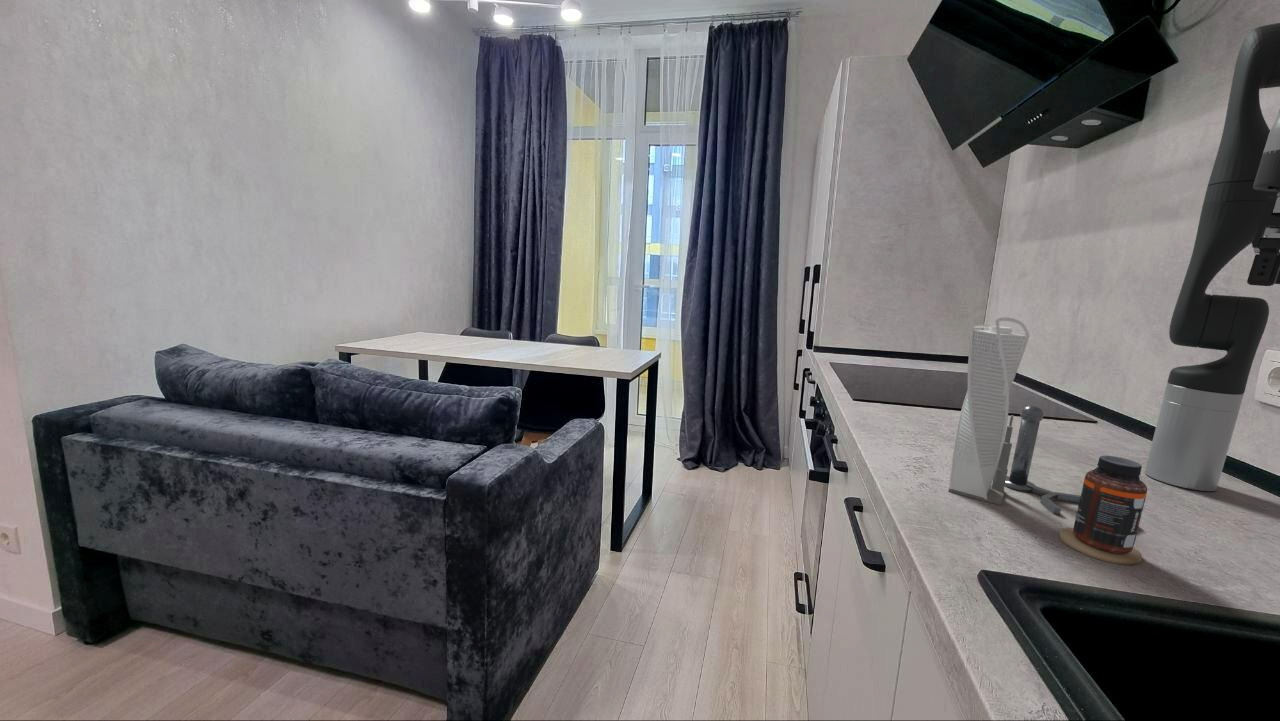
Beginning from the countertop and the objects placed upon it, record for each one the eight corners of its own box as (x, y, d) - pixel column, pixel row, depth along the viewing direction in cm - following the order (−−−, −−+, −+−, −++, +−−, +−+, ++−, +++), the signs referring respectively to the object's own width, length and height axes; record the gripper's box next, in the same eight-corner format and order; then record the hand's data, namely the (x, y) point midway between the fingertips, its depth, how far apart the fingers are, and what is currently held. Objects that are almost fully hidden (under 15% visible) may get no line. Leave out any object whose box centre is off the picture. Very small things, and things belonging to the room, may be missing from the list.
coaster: (1074, 527, 73) (1075, 523, 73) (1150, 555, 67) (1151, 551, 66) (1048, 539, 69) (1049, 535, 69) (1127, 571, 62) (1128, 566, 62)
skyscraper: (1000, 508, 78) (1038, 321, 73) (939, 491, 82) (970, 314, 77) (1003, 491, 84) (1039, 318, 79) (946, 476, 89) (976, 312, 84)
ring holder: (1009, 477, 91) (1025, 400, 88) (1143, 522, 76) (1167, 431, 74) (979, 486, 86) (995, 405, 83) (1117, 537, 71) (1141, 440, 68)
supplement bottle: (1144, 559, 64) (1167, 472, 62) (1089, 551, 65) (1109, 466, 63) (1111, 535, 70) (1131, 455, 68) (1061, 528, 71) (1079, 449, 69)
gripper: (1275, 157, 69) (1237, 280, 73) (1251, 144, 62) (1209, 282, 66) (1370, 151, 63) (1323, 286, 67) (1356, 136, 56) (1303, 289, 59)
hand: (1267, 284), depth 66 cm, fingers open, 8 cm apart
